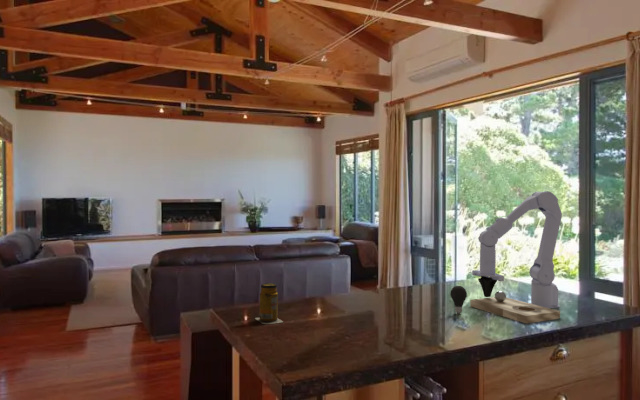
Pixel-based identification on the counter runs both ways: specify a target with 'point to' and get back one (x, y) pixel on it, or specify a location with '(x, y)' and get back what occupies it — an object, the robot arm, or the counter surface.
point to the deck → (516, 310)
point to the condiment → (268, 304)
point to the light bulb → (458, 297)
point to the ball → (500, 296)
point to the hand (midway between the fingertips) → (487, 296)
